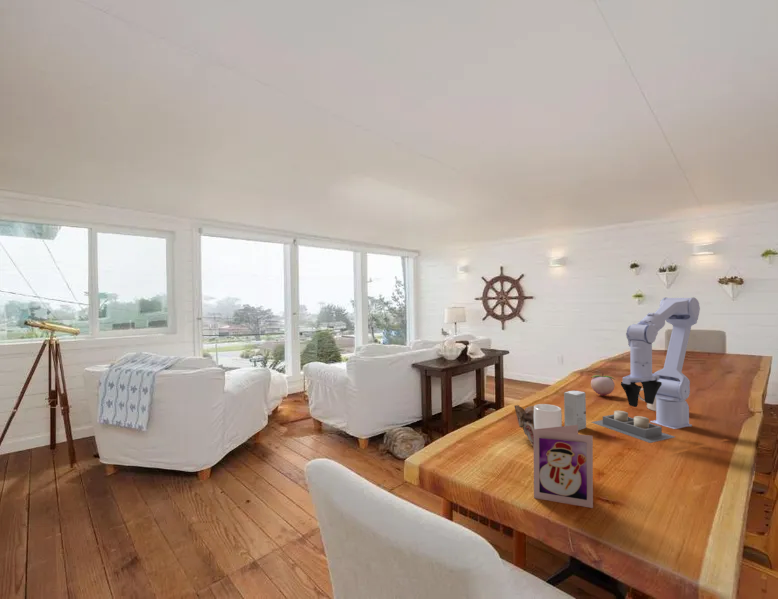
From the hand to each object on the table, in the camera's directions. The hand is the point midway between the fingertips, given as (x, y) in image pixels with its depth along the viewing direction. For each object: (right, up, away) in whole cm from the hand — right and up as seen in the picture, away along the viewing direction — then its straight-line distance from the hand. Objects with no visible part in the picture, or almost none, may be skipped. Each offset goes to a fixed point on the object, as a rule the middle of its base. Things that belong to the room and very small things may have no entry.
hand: (641, 404), depth 119 cm
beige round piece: (-3, -9, +6) cm, 11 cm away
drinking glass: (-39, -10, -21) cm, 45 cm away
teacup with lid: (+24, -9, +27) cm, 37 cm away
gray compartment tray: (-1, -9, +3) cm, 10 cm away
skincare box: (-18, -10, +5) cm, 21 cm away
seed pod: (-35, -10, -7) cm, 37 cm away
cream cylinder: (0, -9, 0) cm, 9 cm away
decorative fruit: (+14, -9, +45) cm, 49 cm away
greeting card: (-42, -10, -37) cm, 57 cm away
